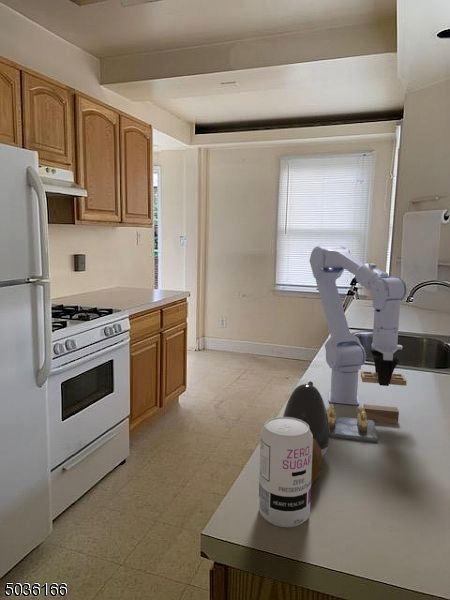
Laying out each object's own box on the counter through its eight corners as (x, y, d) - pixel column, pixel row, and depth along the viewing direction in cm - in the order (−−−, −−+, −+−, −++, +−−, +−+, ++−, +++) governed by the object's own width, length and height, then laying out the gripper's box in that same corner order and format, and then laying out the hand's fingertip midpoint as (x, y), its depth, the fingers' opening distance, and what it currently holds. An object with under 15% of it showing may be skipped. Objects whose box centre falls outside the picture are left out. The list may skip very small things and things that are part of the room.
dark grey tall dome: (332, 449, 93) (335, 380, 91) (325, 472, 83) (329, 395, 81) (285, 441, 96) (287, 374, 94) (273, 462, 87) (275, 389, 85)
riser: (362, 415, 111) (363, 404, 111) (396, 418, 109) (397, 407, 109) (363, 420, 108) (364, 408, 108) (398, 423, 106) (398, 411, 106)
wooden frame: (360, 375, 111) (360, 371, 111) (402, 379, 109) (402, 374, 109) (362, 382, 106) (362, 377, 106) (406, 385, 103) (406, 380, 103)
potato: (260, 488, 78) (261, 442, 76) (289, 460, 87) (290, 419, 86) (304, 504, 73) (306, 455, 72) (329, 473, 83) (331, 430, 82)
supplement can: (276, 493, 76) (278, 411, 74) (318, 512, 71) (322, 424, 69) (248, 515, 70) (250, 426, 68) (293, 537, 65) (296, 442, 63)
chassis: (318, 418, 109) (319, 398, 108) (373, 424, 106) (374, 403, 105) (317, 435, 99) (318, 413, 98) (377, 442, 96) (378, 419, 95)
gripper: (408, 334, 98) (404, 392, 99) (398, 322, 112) (395, 373, 113) (375, 332, 99) (372, 389, 101) (369, 321, 113) (366, 371, 115)
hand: (382, 381), depth 107 cm, fingers closed on wooden frame, 6 cm apart
